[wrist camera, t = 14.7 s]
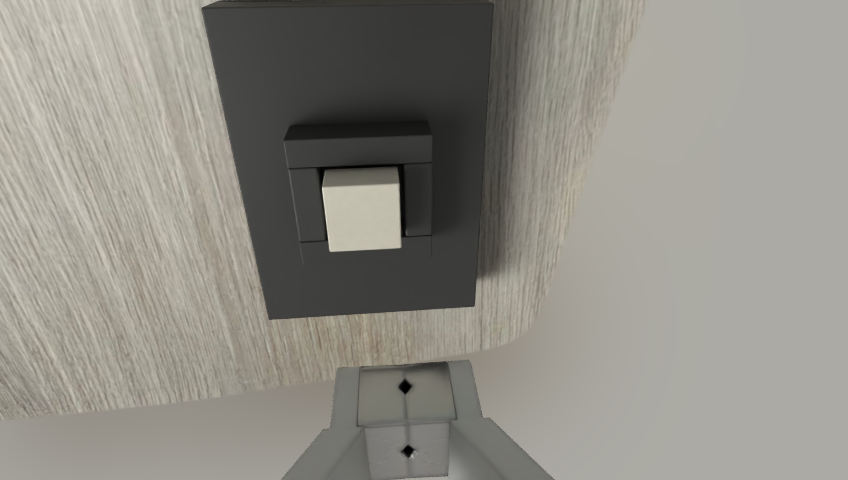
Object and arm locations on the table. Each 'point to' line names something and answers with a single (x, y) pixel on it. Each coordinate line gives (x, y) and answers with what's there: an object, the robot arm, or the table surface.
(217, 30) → the button base
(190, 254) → the table surface
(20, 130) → the table surface
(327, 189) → the push button
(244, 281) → the table surface
